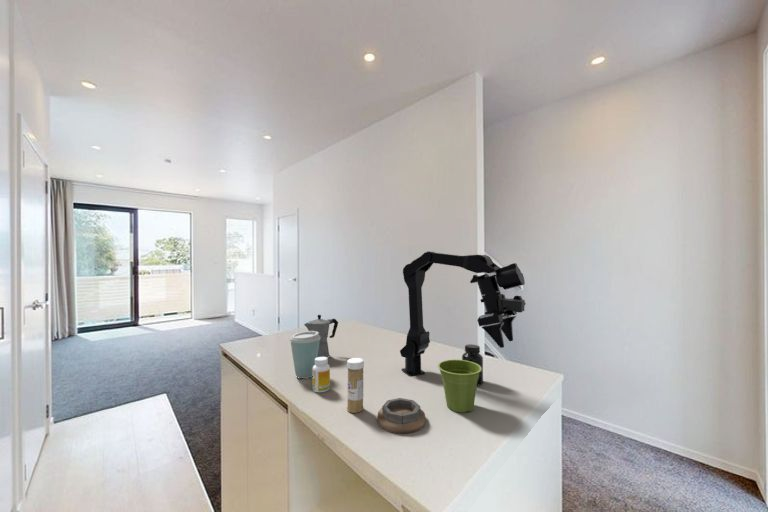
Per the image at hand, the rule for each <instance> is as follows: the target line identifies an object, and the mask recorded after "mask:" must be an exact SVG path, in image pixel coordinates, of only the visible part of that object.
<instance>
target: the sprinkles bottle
mask: <svg viewBox="0 0 768 512" xmlns="http://www.w3.org/2000/svg"><path fill="white" fill-rule="evenodd" d="M364 367H365V360H364V359H363V358H360V357H352V358H349V359H348V360H347V362H346V368H347V388H346V389H347V394H346V395H347V407H346V410H347V411H348V413H352V414H358V413H360V412H362V411H363V410H364Z"/></svg>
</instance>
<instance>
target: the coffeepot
mask: <svg viewBox="0 0 768 512" xmlns="http://www.w3.org/2000/svg"><path fill="white" fill-rule="evenodd" d="M331 324H333V326H332V327H333V329H332V332H331V335H329V329H330V325H331ZM338 324H339V321H338V320H337V319H336V318H331V319H330V318H329V319H323V318H322V315H321V314H317V319H313V320H310V321H308V322H305V323H304V324H303V326H305V327H306V328H307V331H317V332H319V336H320V338H321V339H320V342H319V349H318V357H328V356H330V352H329V344H328V338H329V339H333V338H335V335H336V332H337V328H338Z"/></svg>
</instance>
